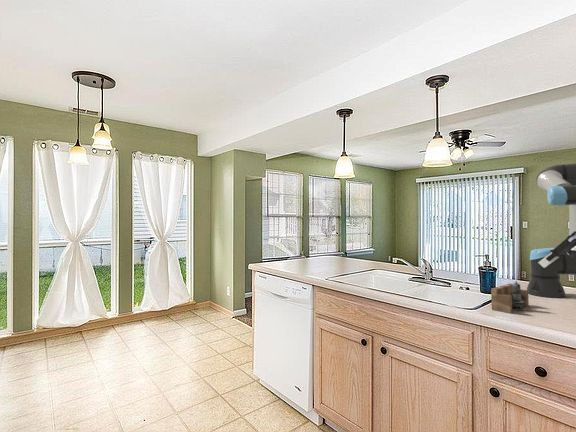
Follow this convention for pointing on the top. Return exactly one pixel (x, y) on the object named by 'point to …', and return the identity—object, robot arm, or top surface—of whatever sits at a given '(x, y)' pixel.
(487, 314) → the top surface
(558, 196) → the robot arm
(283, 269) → the top surface
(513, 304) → the grey chess piece
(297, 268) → the top surface
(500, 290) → the brown wooden u-shaped block
